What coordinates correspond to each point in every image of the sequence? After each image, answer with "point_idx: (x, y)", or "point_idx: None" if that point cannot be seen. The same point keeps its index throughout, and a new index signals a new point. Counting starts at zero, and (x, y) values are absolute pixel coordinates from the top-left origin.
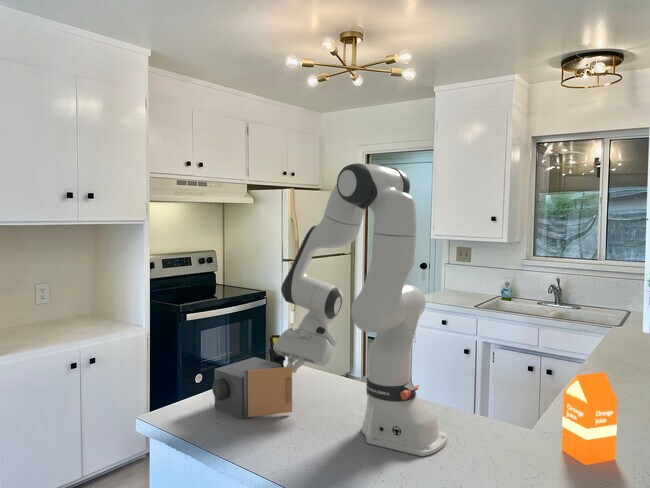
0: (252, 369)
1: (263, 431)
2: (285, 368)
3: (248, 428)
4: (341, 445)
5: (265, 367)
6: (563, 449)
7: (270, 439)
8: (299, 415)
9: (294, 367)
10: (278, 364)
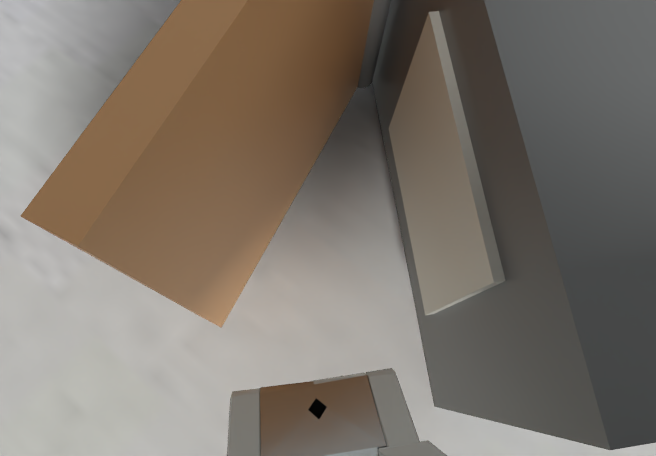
0: (614, 10)
1: None
2: (99, 119)
3: None
4: None
5: (598, 165)
6: None
7: (61, 41)
8: (167, 357)
9: (229, 448)
10: (627, 405)
